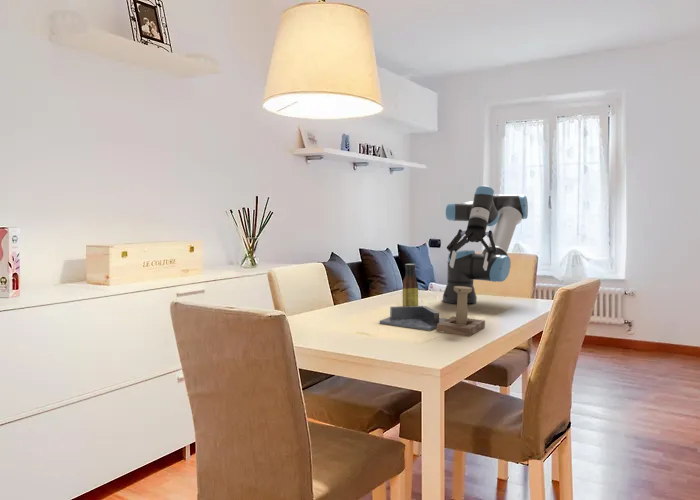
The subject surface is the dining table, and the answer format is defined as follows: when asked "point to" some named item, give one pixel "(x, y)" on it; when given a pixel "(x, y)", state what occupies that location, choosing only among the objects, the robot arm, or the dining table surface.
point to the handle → (462, 304)
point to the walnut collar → (461, 326)
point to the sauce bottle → (410, 286)
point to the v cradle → (413, 317)
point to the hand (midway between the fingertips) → (467, 267)
